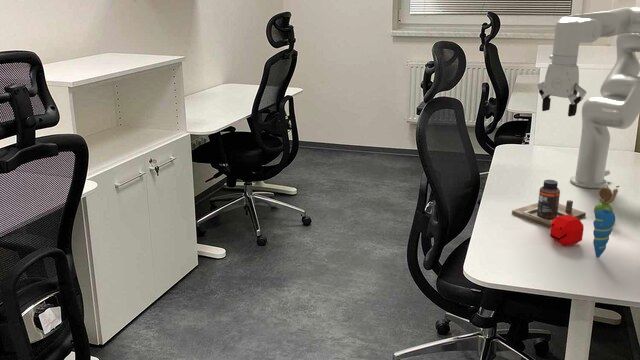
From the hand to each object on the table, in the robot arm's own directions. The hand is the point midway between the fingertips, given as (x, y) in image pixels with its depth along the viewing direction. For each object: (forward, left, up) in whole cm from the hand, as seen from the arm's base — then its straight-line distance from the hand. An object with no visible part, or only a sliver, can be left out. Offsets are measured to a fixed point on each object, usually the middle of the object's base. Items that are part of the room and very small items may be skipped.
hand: (558, 113), depth 201 cm
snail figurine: (+3, +23, -29) cm, 37 cm away
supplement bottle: (+18, +13, -28) cm, 36 cm away
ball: (+28, +27, -29) cm, 49 cm away
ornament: (+29, +38, -29) cm, 56 cm away
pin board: (+14, +11, -29) cm, 34 cm away
